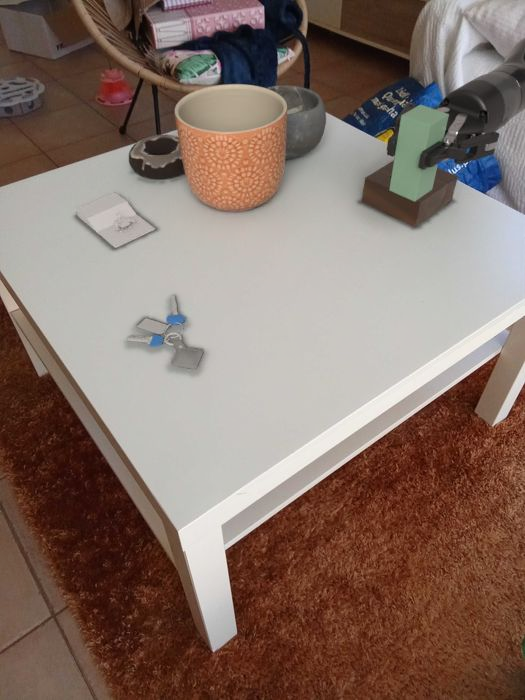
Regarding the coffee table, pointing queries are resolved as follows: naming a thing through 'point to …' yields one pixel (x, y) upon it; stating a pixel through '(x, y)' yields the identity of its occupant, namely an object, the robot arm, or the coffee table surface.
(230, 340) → the coffee table surface
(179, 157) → the donut
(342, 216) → the coffee table surface
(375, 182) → the mount block
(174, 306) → the key chain
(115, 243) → the small white envelope
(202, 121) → the planter
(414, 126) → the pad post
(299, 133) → the bowl
